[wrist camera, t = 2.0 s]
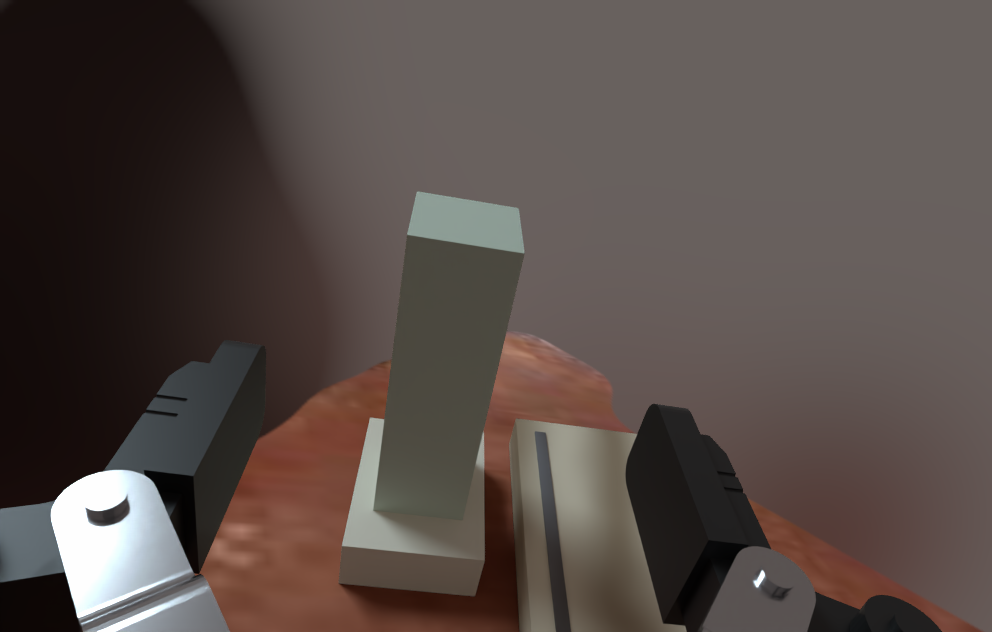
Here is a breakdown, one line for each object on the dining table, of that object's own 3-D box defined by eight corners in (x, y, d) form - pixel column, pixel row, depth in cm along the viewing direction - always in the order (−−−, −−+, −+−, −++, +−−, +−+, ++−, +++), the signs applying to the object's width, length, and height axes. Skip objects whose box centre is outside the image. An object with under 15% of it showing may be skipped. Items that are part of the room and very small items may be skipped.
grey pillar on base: (476, 465, 35) (539, 193, 27) (475, 596, 28) (559, 286, 20) (366, 452, 35) (397, 169, 26) (338, 583, 28) (368, 257, 20)
